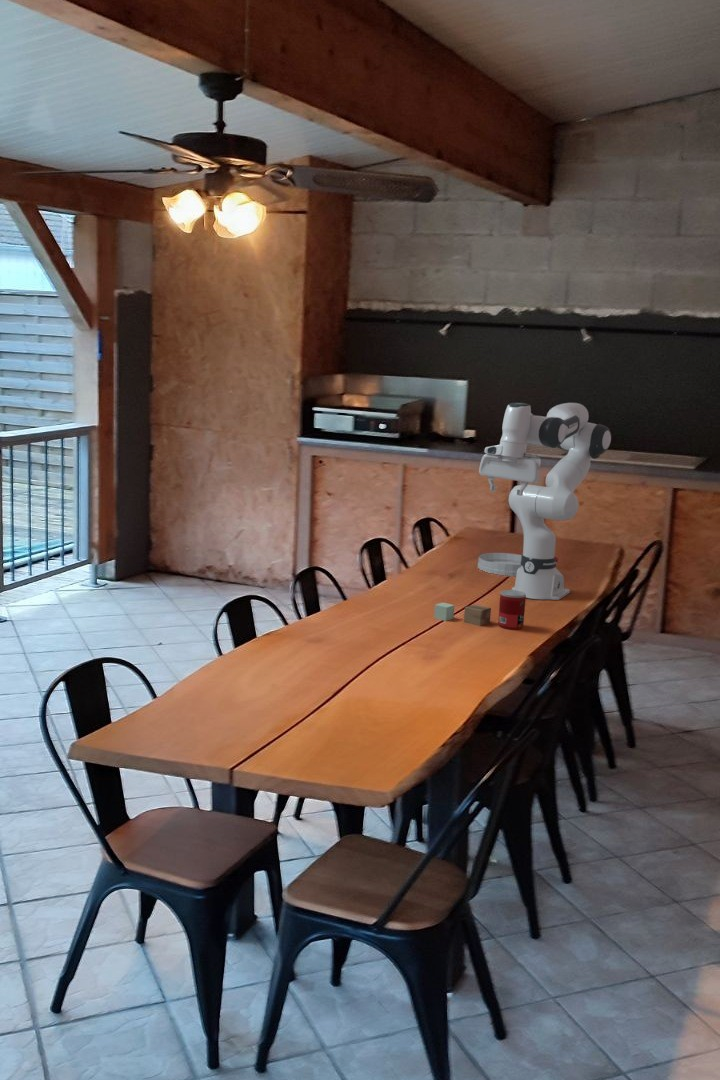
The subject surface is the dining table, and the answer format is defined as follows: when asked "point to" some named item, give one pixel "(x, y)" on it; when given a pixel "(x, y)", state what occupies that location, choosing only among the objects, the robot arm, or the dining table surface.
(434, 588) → the dining table surface
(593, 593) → the dining table surface
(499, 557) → the dish
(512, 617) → the canned food
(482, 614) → the walnut block
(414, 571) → the dining table surface
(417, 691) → the dining table surface
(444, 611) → the sage cube
